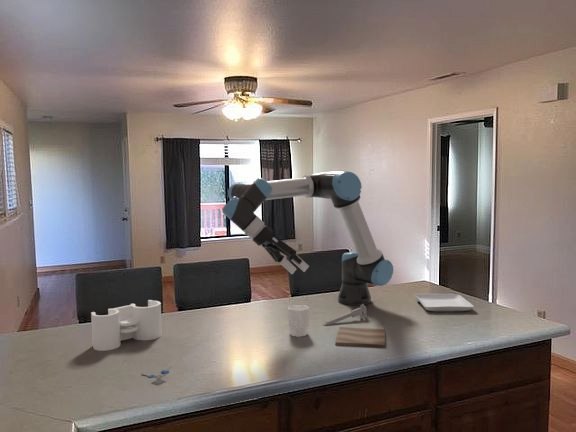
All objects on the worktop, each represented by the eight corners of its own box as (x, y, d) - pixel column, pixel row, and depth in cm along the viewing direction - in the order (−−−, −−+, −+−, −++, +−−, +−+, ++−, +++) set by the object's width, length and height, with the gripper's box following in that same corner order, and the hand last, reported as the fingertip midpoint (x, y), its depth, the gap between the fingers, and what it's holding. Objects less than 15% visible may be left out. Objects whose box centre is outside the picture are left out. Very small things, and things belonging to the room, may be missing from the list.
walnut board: (339, 329, 186) (339, 326, 186) (384, 331, 182) (384, 329, 182) (335, 344, 169) (335, 342, 169) (385, 347, 166) (385, 344, 166)
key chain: (164, 386, 138) (164, 383, 138) (135, 387, 137) (135, 385, 137) (172, 367, 152) (172, 364, 152) (145, 368, 151) (145, 365, 151)
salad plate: (475, 313, 206) (475, 305, 205) (424, 314, 206) (425, 306, 206) (458, 300, 227) (458, 293, 226) (412, 301, 227) (412, 293, 227)
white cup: (294, 338, 176) (294, 311, 175) (284, 332, 183) (284, 306, 182) (313, 335, 179) (313, 308, 178) (302, 329, 186) (302, 303, 185)
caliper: (365, 318, 201) (365, 303, 200) (366, 318, 200) (366, 303, 199) (322, 325, 191) (322, 310, 191) (324, 326, 190) (324, 310, 190)
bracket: (100, 353, 163) (99, 318, 162) (89, 346, 170) (87, 312, 169) (167, 335, 181) (166, 303, 180) (153, 329, 188) (152, 299, 187)
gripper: (244, 243, 188) (283, 279, 190) (260, 234, 165) (305, 276, 167) (256, 229, 191) (295, 265, 193) (274, 218, 167) (318, 260, 170)
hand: (300, 270), depth 180 cm, fingers open, 13 cm apart
